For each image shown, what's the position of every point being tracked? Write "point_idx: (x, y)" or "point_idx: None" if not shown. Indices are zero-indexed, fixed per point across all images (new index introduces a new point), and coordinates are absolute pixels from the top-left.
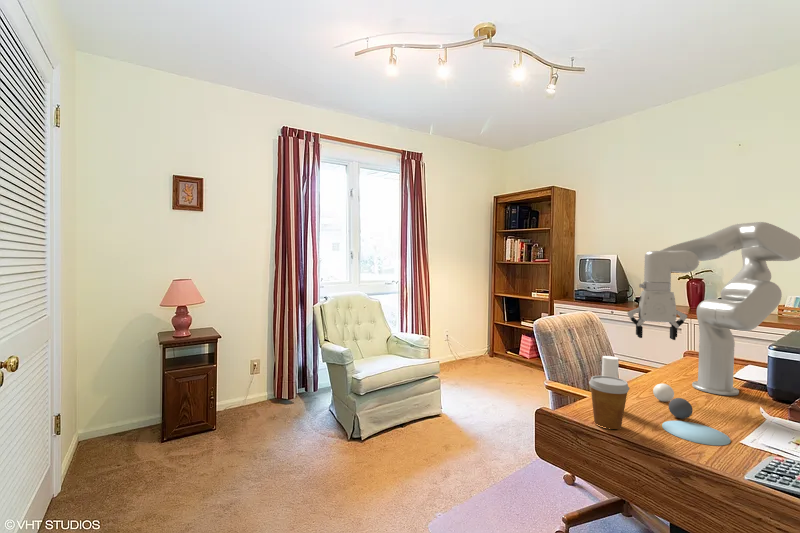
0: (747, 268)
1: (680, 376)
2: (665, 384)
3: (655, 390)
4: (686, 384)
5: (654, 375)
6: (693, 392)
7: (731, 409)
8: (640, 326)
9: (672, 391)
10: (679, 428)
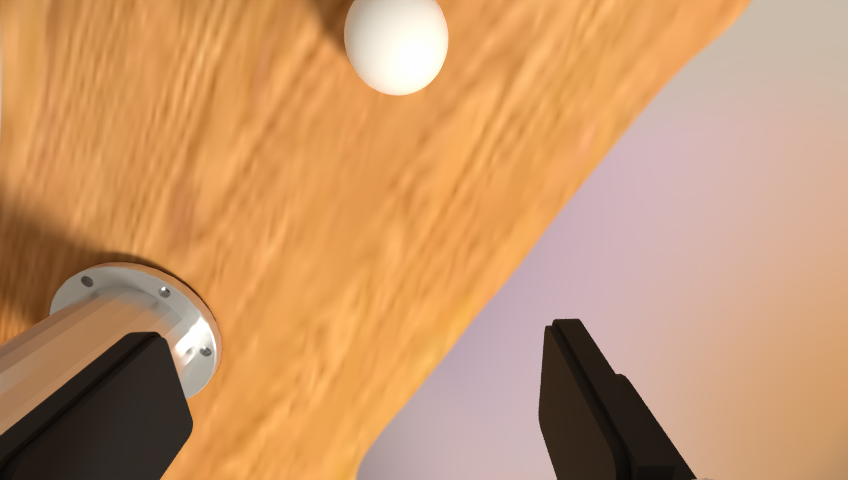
0: None
1: (245, 469)
2: (383, 26)
3: (443, 17)
4: (241, 370)
5: (344, 450)
6: (233, 262)
7: (111, 47)
8: (669, 464)
9: (354, 2)
10: None
